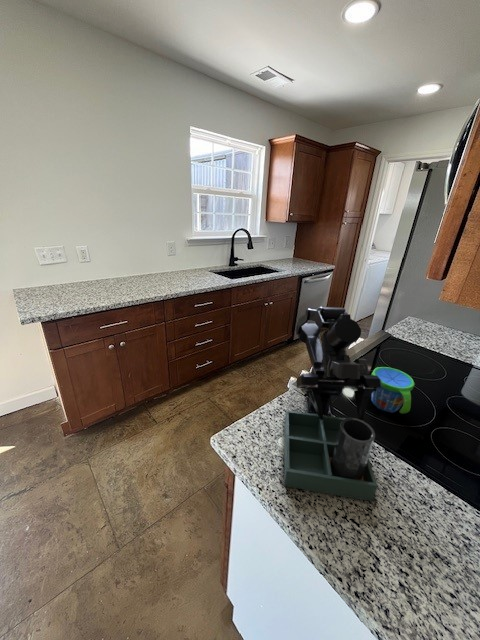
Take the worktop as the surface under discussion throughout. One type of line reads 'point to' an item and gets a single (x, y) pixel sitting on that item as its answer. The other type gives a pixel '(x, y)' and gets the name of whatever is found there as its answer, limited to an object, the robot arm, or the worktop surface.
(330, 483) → the divided compartment tray
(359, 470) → the grey tumbler
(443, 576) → the worktop surface
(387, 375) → the snack cup
